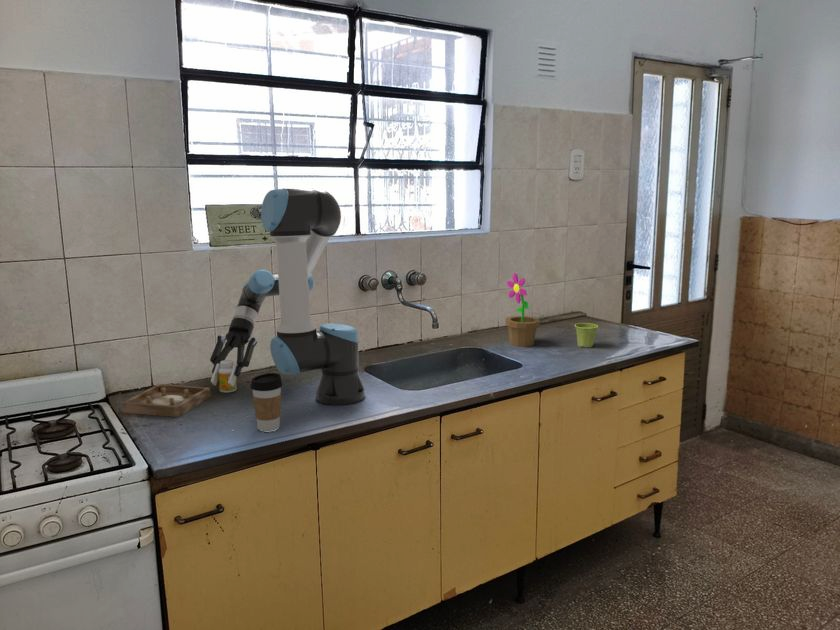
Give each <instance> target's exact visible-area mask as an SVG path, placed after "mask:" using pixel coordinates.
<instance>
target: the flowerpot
mask: <svg viewBox="0 0 840 630" xmlns="http://www.w3.org/2000/svg"><path fill="white" fill-rule="evenodd" d="M525 284H526V279H525V277H524V278H520V279H519V277H518V274H517V273H516V272H514V273H513V275H512V280H508V281H506V285H507V286H508V287H509V288H511V289H512V288H513V289H512V290H510V292H509V293H508V298H509V299H511V298H513V297H514V296H515V301H516V302H517V304H520V303H521V307H518V308H516V309H515V310H516V312H518V313H520V314H521V315H516V316H514V315H513V316H509V317H506V318H505V321H504V322H505V326H506V327H508V328H507V329H508V331H507V332H508V338H509V340H508V341H509V345H511V346H514V347H519V348H520V347H523V348H527V347H532V346H534V345H535V339H536V334H537V328H539V327H540V324H541V319H539V318H537V317H534V316H529V315H527V316H526V315H525V310H528V309H529V308H530V305H529V302H527V300H524V299H525V298H524V296H527V295H528V293H527V291H526V289H524V288H520V287H522V286H524V285H525Z"/></svg>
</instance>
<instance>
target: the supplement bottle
mask: <svg viewBox="0 0 840 630" xmlns="http://www.w3.org/2000/svg"><path fill="white" fill-rule="evenodd" d="M233 366H234V362H233V360H232V359H225V360H223V361H221V362H220V367H221V368H220V369H219V370H218V373H219V379H218V385H219V386H218V388H219V392H220V393H223V394H224V393H232V392H236V391H237V389H238V387H237V385H238V384H237V379H236V380H235V383H234V386H233V387H231V386H230V385H229V383H228V381H229V378H230V375H231V372H232V369H233Z"/></svg>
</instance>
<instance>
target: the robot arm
mask: <svg viewBox="0 0 840 630" xmlns="http://www.w3.org/2000/svg"><path fill="white" fill-rule="evenodd" d="M260 210H261V211H260V220H261V223H262V227H263V230H265V231H267V232H269V236H270V237H269V238H270V239H272V240H273V242H275V246H276V247H275V250H276V263H277V264H276V265H277V272H275V273H271V272H270V271H269V270H266V269H258V270H256V271H254V273H253V274H252V275H251V276H250V277H249V280H248V281H246V282H245V284H244V286H243V288H242V290H241V293H240V296H239V299H238V303H237V306H236V308H235V310H234V313H233V316H232V319H231V321H230V325H229V327H228V332H227V333H226V334H225V335H224V336H221V335H217V338H216V339H217V342H216V344H215V346H214V349H213V352H212V354H211V355H210V356H211V357H210V359H209V361H210V363H212V365H213V368H212V370H211V373H212V376H211V379H210V383H211V384H212V385H213V386H217V384H218V382H219V373H218V370H219V369H220V368H221V367H220V362H221V361H223V360H226V358H227V357H228V356H229V354H230V353H231V351H233V350H234V349H235V348H237V351H236V352H237V354H236V362H235V363H236V364H233V366H232V367H233V369H232V372H231V375H230V378H229V381H228V383H229V385H230V386H231V387H233V386H234V383H235V380H236V381H237V378H238V377H240V375H241V373H242V369H244V367H245V368H248V367H249V365H250V363H251V360H252V356H253V353H254V349H255V347H256V345H257V344H258V341H257V339H256V338H255V337H252V334H253V330H254V328H255V327H254V326H255V324H256V322H257V318H258V315H259V312H260V309H261V306H262V304H263V302H264V301H265V299H266V298H267V297H275V296H279V307H280V320H281V321H280V325H279V326H278V327H277V328H276V336H274V337H272V338H271V340H270V343H269V344H270V345H269V346H270V347H269V348H270V353H271V357H272V360H273V363H274V365H275V367H276V369H277V370H278V371H279V372H280V373H282V374H283V375H286V376H287V375H289V376H290V375H299V374H302V373H307V372H312V371H318V370H320V373H321V374H320V378H319V381H318V384H317V387H316V392H315V398H316V400H317V401H318V402H320V403H323V404H326V405H331V406H343V405H351V404H355V403H357V402H360V401H362V400H363V399H364V398H365V394H366V393H365V386H364V385H363V382H362V378H361V376H360V374H359V370H360V369H359V343H360V342H359V333H358V331H357V329H356V328H355V327H354V326H351V325H347V324H339V323H323V324H320V326H319V330H317V326H316V325H315V324H313V323H312V321H311V304H310V303H311V302H310V292H311V291H312V290H313V287H314V276H313V274H312V273H313V271H314V269H315V267H316V265H317V263H318V261H319V260H320V257H321V255H322V254H323V251H324V249H325V247H326V246H327V244H328V241H329V240H330V238H331V237H334V235H336V233H337V231H338V229H339V227H340V225H341V220H342V212H341V208H340V205H339V202H338V201H337V199H336V198H335V197H334V195H332V194H331V193H329V192H328V191H326V190H324V189H322V188H321V189H320V188H277V189H271V190H269V191H268V192H267V193H266V194H265V196H264V198H263V201H262V205H261V209H260ZM246 344H247V345H246ZM245 345H246V346H247V347H246V348H245Z"/></svg>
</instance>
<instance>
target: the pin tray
mask: <svg viewBox="0 0 840 630" xmlns="http://www.w3.org/2000/svg"><path fill="white" fill-rule="evenodd" d="M209 397H210V398H211V387H203V386H190V385H179V384H165V383H164V384H163V383H157V384H155V385H154V386H152V387H150V388H148V389H147V390H144V391H142V392H141V393H138V394H136V395H135V396H132V397H131V398H129V399H127V400H125V401H123V402H122V403H121V404H122V413H123V414H124V413H126V414H136V415H145V414H146V416H147V415H149V416H157V415H159V417H168V416H170V418H180V417H181V416H183V415H184V414H186V413H187V412H189V411H190V410H192V409H194V408H195V407H197V406H199V405H200V404H202V403H203V402H205V401H207V400H209V399H210V398H209Z"/></svg>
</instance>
